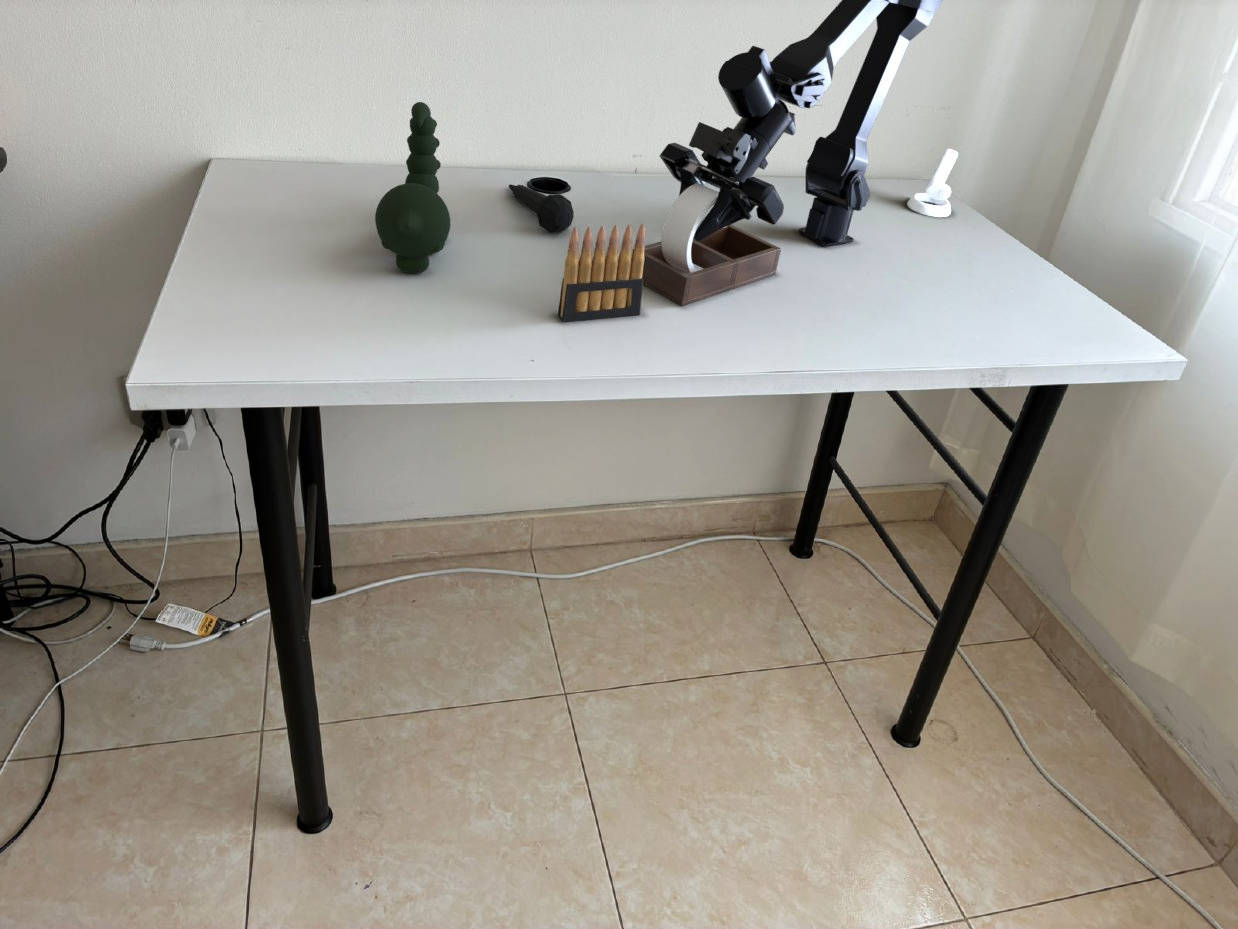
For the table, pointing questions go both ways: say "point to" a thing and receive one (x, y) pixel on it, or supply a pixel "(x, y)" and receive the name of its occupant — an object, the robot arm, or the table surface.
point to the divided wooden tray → (711, 266)
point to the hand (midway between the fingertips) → (683, 233)
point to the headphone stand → (685, 225)
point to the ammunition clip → (602, 277)
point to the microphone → (546, 208)
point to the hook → (936, 190)
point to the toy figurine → (415, 201)
